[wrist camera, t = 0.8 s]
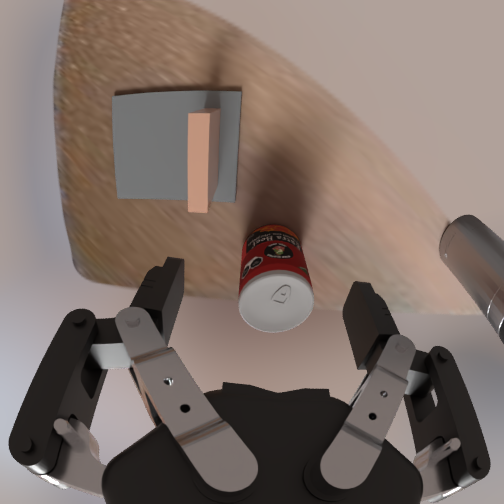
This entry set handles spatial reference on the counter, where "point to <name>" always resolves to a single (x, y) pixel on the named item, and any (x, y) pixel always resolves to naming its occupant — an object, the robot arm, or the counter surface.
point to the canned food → (274, 280)
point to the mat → (170, 143)
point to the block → (203, 158)
